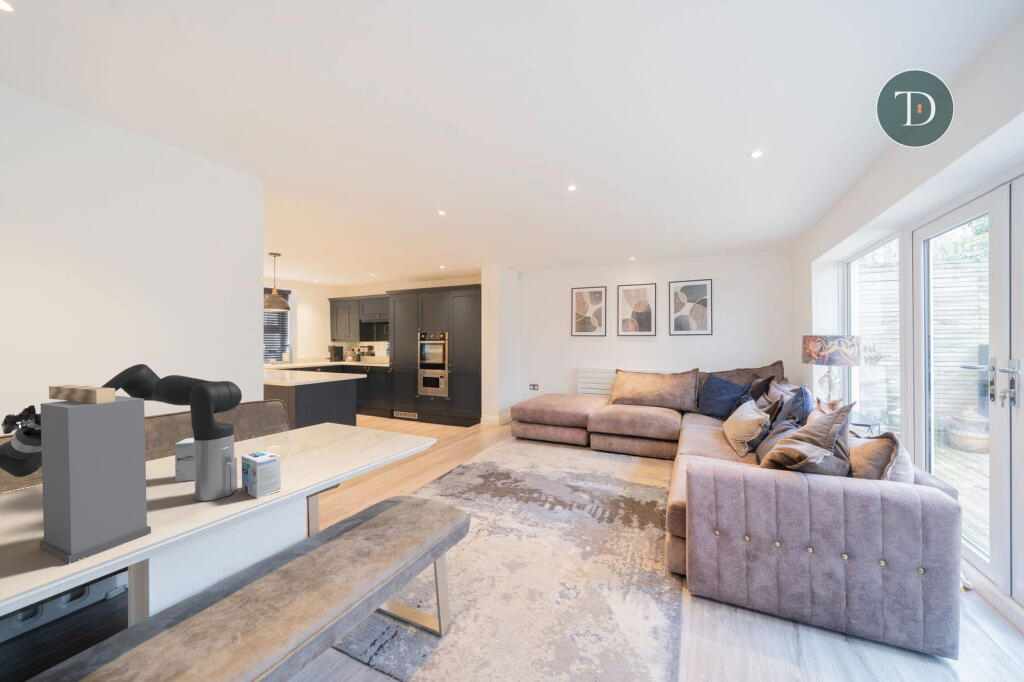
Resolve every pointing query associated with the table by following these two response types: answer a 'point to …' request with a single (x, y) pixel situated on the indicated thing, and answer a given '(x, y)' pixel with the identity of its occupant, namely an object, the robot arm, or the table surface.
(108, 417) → the charcoal pedestal
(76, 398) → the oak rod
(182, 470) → the supplement box
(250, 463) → the light bulb box
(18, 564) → the table surface
